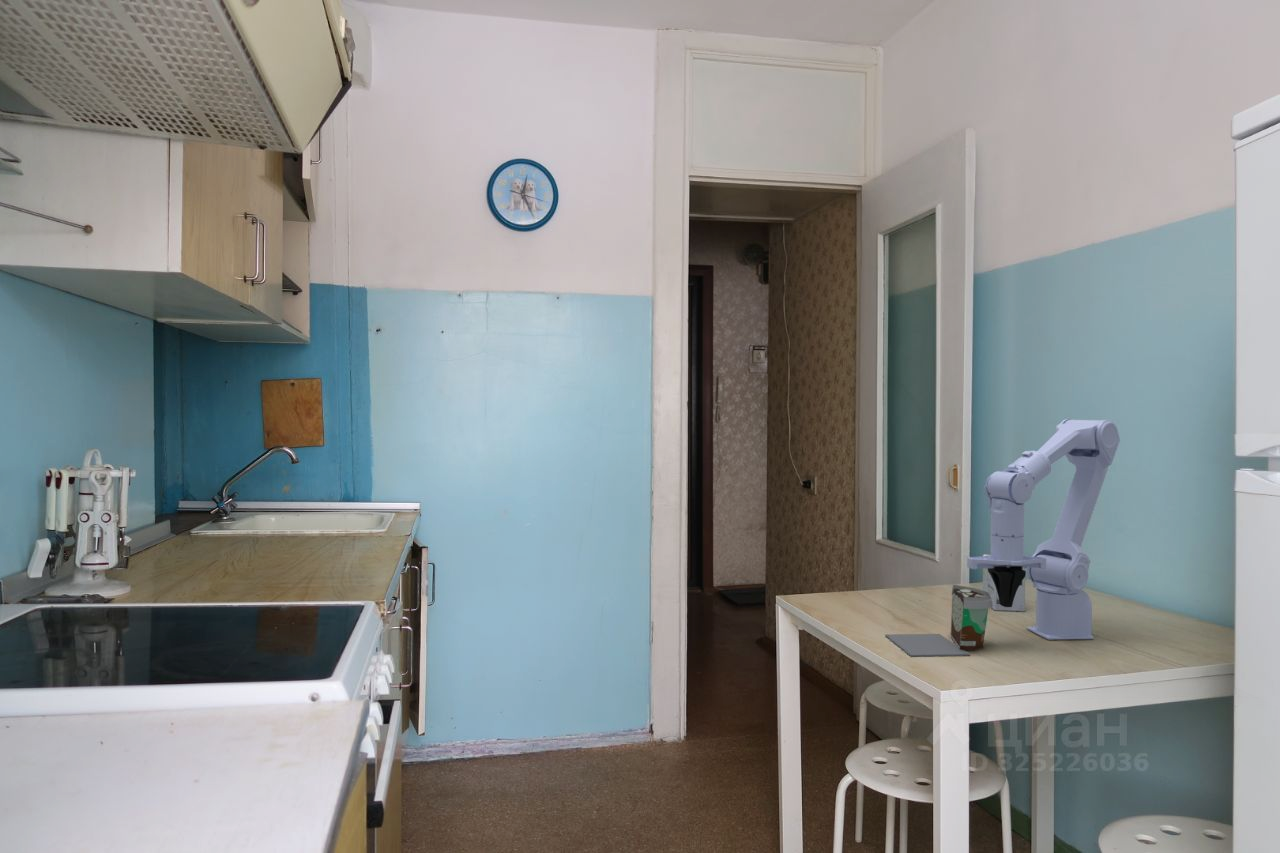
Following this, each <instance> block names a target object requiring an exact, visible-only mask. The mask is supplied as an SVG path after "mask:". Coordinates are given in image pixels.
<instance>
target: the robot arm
mask: <svg viewBox="0 0 1280 853" xmlns="http://www.w3.org/2000/svg"><path fill="white" fill-rule="evenodd" d="M1054 432H1055V433H1054V434H1053V435H1052V436H1051V437H1050V438H1049V439H1048V440H1047V441H1046V442H1045V443H1044V444H1043V445H1042V446H1041V447H1040V448H1039V449H1038V450H1037V451H1036V450H1025V451H1023V452H1022V453H1021V456H1020V457H1019V458H1017V459H1016V460H1014V462H1012V463H1009V465H1008V466H1006V467H1007V468H1005V469H1004V470H1002V471H1001V470H1000V471H999V470H997V471H995V472H992V474H990V475H989V476H988V477H987V479H986V482H985V485H984V488H983V490H984V494H985V497H986V498H987V500H988V504H987V505H988V507H989V510H990V554H989V555H990V556H983V555H982V556H968V557H967V558H966V559H967V561H966V564H967V566H966V568H969V569H970V570H978V569H983V568H988V572H989V574H990V575H991V577H992V579H993V582H994V584H995V587H996V590H997V593H998V597H999V602H1000V605H1002V606H1004V607H1012V604H1013V601H1014V597H1015V594H1016V592H1017V589H1018V587H1019V585H1020V583H1021V582H1022V580H1023V579H1024V578H1025V579H1026V576H1027V577H1028V579H1029V580H1030V581H1031V583H1032V584H1033V585H1032V587H1033V588H1036V598H1035V599H1036V600H1035V602H1036V604H1035V605H1036V606H1035V625H1033V626H1032V625H1027V626H1026V629H1027V630H1029V631H1031V632H1033V633H1034V634H1037V635H1039V636H1041V637H1042V638H1043V639H1046V640H1051V641H1052V640H1093V639H1095V637H1094V636H1093V635H1092V634H1093V632H1092V629H1093V628H1092V625H1093V604H1092V601H1091V598H1090V596H1089V594H1088V593H1087V592H1086V591H1085V590H1083V589H1084V588H1085V587H1086V585H1087V584H1088V580H1089V568H1090V564H1091V560H1090V558H1089V556H1088V555H1087V553H1086V552H1085V551H1084V550H1083V549H1082V548H1081V547H1082V545H1083V543H1084V542H1083V541H1084V539H1085V535H1086V533H1087V530H1088V527H1089V524H1090V521H1091V518H1092V515H1093V513H1094V510H1095V507H1096V505H1097V502H1098V499H1099V496H1100V494H1101V490H1102V487H1103V483H1104V481H1105V479H1106V476H1107V473H1108V470H1109V467H1110V466H1111V465H1112V464H1113V461H1114V458H1115V455H1116V453H1117V450H1118V446H1119V443H1120V441H1121V440H1120V435H1119V434H1120V433H1119V431H1118V427H1117V425H1116V424H1115V423H1114V421H1113V420H1110V419H1103V420H1102V419H1100V420H1097V419H1072V418H1066V419H1064V420H1062V421H1060V423H1059V424H1057V425H1056V427H1055V431H1054ZM1064 456H1065V457H1066V458H1067V460H1068V462H1069V463H1071V464H1072V465H1074V466H1075V469H1076V470H1075V473H1074V475H1073V478H1072V481H1071V484H1070V486H1069V489H1068V491H1067V494H1066V498H1065V500H1064V503H1063V505H1062V509H1061V512H1060V514H1059V518H1058V520H1057V524H1056V525H1055V529H1054V532H1053V534H1052V537H1051V538H1049V539H1048V540H1046V541H1043V542H1041V543H1040V544H1038V545H1037V547H1036V549H1035V552H1034V553H1033V554H1032V555H1031V556H1029V555H1024V543H1025V541H1024V540H1025V537H1024V535H1025V533H1024V532H1025V530H1024V529H1025V503H1026V502H1029V500H1030V499H1031V497H1032V494H1033V491H1034V490H1035V487H1036V485H1038V484H1039V483H1040V482H1041V481H1042V480H1044V479H1045V478H1047V476H1048V475H1050V473H1051V471H1052V464H1054V463H1055V462H1056V461H1058V460H1060V459H1061V458H1063V457H1064ZM1022 568H1025V569H1026V570H1025V571H1024V570H1022ZM1026 574H1027V575H1026Z"/></svg>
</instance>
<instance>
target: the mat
mask: <svg viewBox="0 0 1280 853" xmlns="http://www.w3.org/2000/svg"><path fill="white" fill-rule="evenodd" d="M884 635H885V637H886V638H887V640H889V641H890V642H892V643H893V644H895V645H896V646H897V647H898V648H899V649H900V650H902V651H903V652H904V653H906V654H907V655H908V657H911V658H914V657H918V658H919V657H921V658H923V657H968V656H969V657H970V656H971V654H970V653H969V652H968V651H967V650H962V649H959V648H958V646H957V645H956V643H955V642H954V641H951V640H949V638H947V637H945V636H944V635H942V634H941V633H905V634H904V633H902V634H893V633H892V634H891V633H890V634H884Z"/></svg>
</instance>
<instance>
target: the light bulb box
mask: <svg viewBox="0 0 1280 853" xmlns="http://www.w3.org/2000/svg"><path fill="white" fill-rule="evenodd" d="M982 556H990V554H982ZM1022 570H1024V571H1026V568H1022ZM982 590H983V591H986V592H988V593H989V594H990V597H991V599H992V605H993V606H992V607H991V608H992V609H993V610H994V611H1003V612H1004V611H1005V612H1006V611H1007V612H1008V611H1010V612H1023V613H1024V612H1025V611H1026V577H1025V578H1024V579H1023V580H1022V582H1021V583H1020V585H1019V587H1018V589H1017V592H1016V594H1015V597H1014V601H1013V604H1012V607H1004V606H1002V605H1000V602H999V597H998V593H997V590H996V587H995V584H994V582H993V579H992V577H991V575H990V574H989V572H988V568H982Z"/></svg>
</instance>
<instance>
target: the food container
mask: <svg viewBox="0 0 1280 853" xmlns="http://www.w3.org/2000/svg"><path fill="white" fill-rule="evenodd" d="M951 589H952V590H951V598H952V599H951V614H950V615H951V618H950V621H951V622H950V637H951V639H952V641H953V643H954V644H955V645H957V646H958V648H959V649H962V650H964V651H977V650H980V649H983V647H984V642H985V634H986V628H987V621H988V614H989V609H991V608H992V606H993V605H992V599H991V597H990V594H989V593H988V592H986V591H983V589H980V588H976V587H972V586H965V585H959V584H952V588H951Z"/></svg>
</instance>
